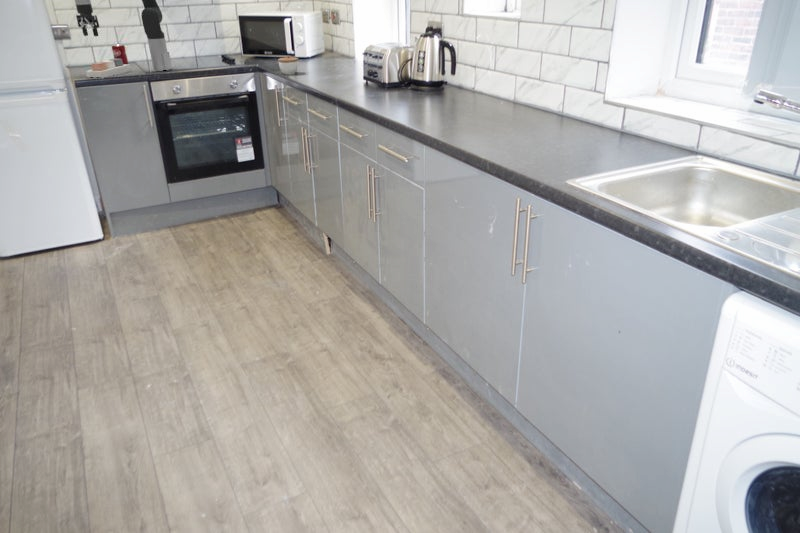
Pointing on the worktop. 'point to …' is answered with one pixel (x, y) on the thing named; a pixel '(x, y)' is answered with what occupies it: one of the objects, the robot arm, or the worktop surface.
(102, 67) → the terracotta key
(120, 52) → the soda can
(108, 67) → the ivory key
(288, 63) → the lidded jar
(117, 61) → the charcoal key
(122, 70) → the keypad housing
